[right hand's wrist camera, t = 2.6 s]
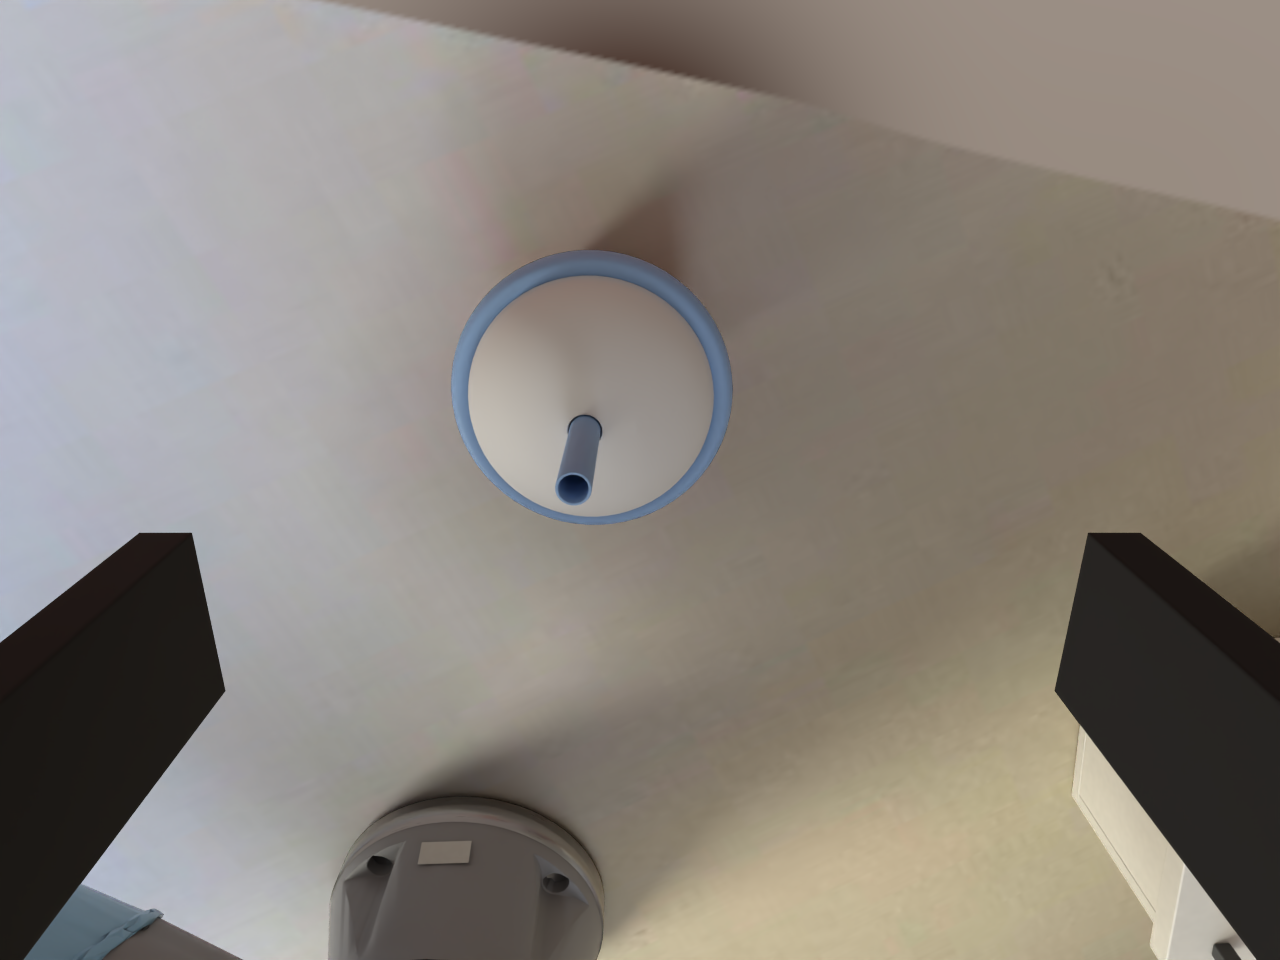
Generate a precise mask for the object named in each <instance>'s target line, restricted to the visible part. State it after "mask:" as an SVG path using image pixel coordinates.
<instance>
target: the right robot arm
mask: <svg viewBox="0 0 1280 960" xmlns="http://www.w3.org/2000/svg"><path fill="white" fill-rule="evenodd" d="M224 692H225V687H224V682H223V677H222V673H221V668H220V663H219V659H218V654H217V649H216V644H215V640H214V635H213V630H212V626H211V621H210V616H209V611H208V607H207V602H206V597H205V593H204V588H203V583H202V578H201V574H200V569H199V564H198V560H197V555H196V550H195V545H194V541H193V536H192V533H139V534H138V535H136V536H135V537H134V538H132V539H131V540H130V541H129V542H127V543H126V544H125V545H124V546H122V547H121V548H120V549H119V550H117V551H116V552H115V553H113V554H112V555H111V556H110V557H108V558H107V559H106V560H105V561H103V562H102V563H101V564H99V565H98V566H97V567H96V568H94V569H93V570H92V571H91V572H89V573H88V574H87V575H86V576H84V577H83V578H82V579H80V580H79V581H78V582H77V583H75V584H74V585H73V586H72V587H70V588H69V589H68V590H67V591H65V592H64V593H63V594H61V595H60V596H59V597H58V598H56V599H55V600H54V601H53V602H51V603H50V604H49V605H48V606H46V607H45V608H44V609H42V610H41V611H40V612H39V613H37V614H36V615H35V616H34V617H32V618H31V619H30V620H28V621H27V622H26V623H25V624H23V625H22V626H21V627H20V628H18V629H17V630H16V631H15V632H13V633H12V634H11V635H9V636H8V637H7V638H6V639H4V640H3V641H2V642H1V643H0V960H242V959H240V958H238V957H236V956H234V955H232V954H230V953H228V952H226V951H224V950H222V949H220V948H218V947H216V946H214V945H212V944H210V943H208V942H206V941H204V940H202V939H200V938H198V937H196V936H194V935H192V934H190V933H188V932H186V931H184V930H182V929H180V928H178V927H176V926H174V925H172V924H170V923H168V922H166V921H164V920H162V919H161V918H162V917H163V915H164V914H163V913H161V912H160V911H158V910H156V909H150V910H147V911H143V910H141V909H139V908H136V907H134V906H131V905H129V904H127V903H124V902H122V901H120V900H117V899H115V898H113V897H110V896H108V895H106V894H103V893H101V892H99V891H96V890H94V889H92V888H89V887H87V886H85V885H82V884H81V883H82V881H83V880H84V879H85V877H86V876H87V875H88V873H89V872H90V871H91V869H92V868H93V867H94V865H95V864H96V863H97V861H98V860H99V859H100V857H101V856H102V855H103V853H104V852H105V851H106V849H107V848H108V847H109V845H110V844H111V843H112V841H113V840H114V839H115V837H116V836H117V835H118V833H119V832H120V831H121V829H122V828H123V827H124V825H125V824H126V823H127V821H128V820H129V819H130V817H131V816H132V815H133V813H134V812H135V811H136V809H137V808H138V807H139V805H140V804H141V803H142V801H143V800H144V799H145V797H146V796H147V795H148V793H149V792H150V791H151V789H152V788H153V787H154V785H155V784H156V783H157V781H158V780H159V779H160V777H161V776H162V775H163V773H164V772H165V771H166V769H167V768H168V767H169V765H170V764H171V763H172V761H173V760H174V759H175V757H176V756H177V755H178V753H179V752H180V751H181V749H182V748H183V747H184V745H185V744H186V743H187V741H188V740H189V739H190V737H191V736H192V735H193V733H194V732H195V731H196V729H197V728H198V727H199V725H200V724H201V723H202V721H203V720H204V719H205V717H206V716H207V715H208V713H209V712H210V711H211V709H212V708H213V707H214V705H215V704H216V703H217V701H218V700H219V699H220V697H221V696H222V695H223V693H224ZM1055 692H1056V693H1057V695H1058V696H1059V697H1060V699H1061V700H1062V701H1063V703H1064V704H1065V705H1066V707H1067V708H1068V709H1069V711H1070V712H1071V713H1072V715H1073V716H1074V717H1075V719H1076V720H1077V721H1078V723H1079V724H1080V725H1081V727H1082V728H1083V729H1084V731H1085V732H1086V733H1087V735H1088V736H1089V737H1090V739H1091V740H1092V741H1093V743H1094V744H1095V745H1096V747H1097V748H1098V749H1099V751H1100V752H1101V753H1102V755H1103V756H1104V757H1105V759H1106V760H1107V761H1108V763H1109V764H1110V765H1111V767H1112V768H1113V769H1114V771H1115V772H1116V773H1117V775H1118V776H1119V777H1120V779H1121V780H1122V781H1123V783H1124V784H1125V785H1126V787H1127V788H1128V789H1129V791H1130V792H1131V793H1132V795H1133V796H1134V797H1135V799H1136V800H1137V801H1138V803H1139V804H1140V805H1141V807H1142V808H1143V809H1144V811H1145V812H1146V813H1147V815H1148V816H1149V817H1150V819H1151V820H1152V821H1153V823H1154V824H1155V825H1156V827H1157V828H1158V829H1159V831H1160V832H1161V833H1162V835H1163V836H1164V837H1165V839H1166V840H1167V841H1168V843H1169V844H1170V845H1171V847H1172V848H1173V849H1174V851H1175V852H1176V853H1177V855H1178V856H1179V857H1180V859H1181V860H1182V861H1183V863H1184V864H1185V865H1186V867H1187V868H1188V869H1189V871H1190V872H1191V873H1192V875H1193V876H1194V877H1195V879H1196V880H1197V881H1198V883H1199V884H1200V885H1201V887H1202V888H1203V889H1204V891H1205V892H1206V893H1207V895H1208V896H1209V897H1210V899H1211V900H1212V901H1213V903H1214V904H1215V905H1216V907H1217V908H1218V909H1219V911H1220V912H1221V913H1222V915H1223V916H1224V917H1225V919H1226V920H1227V921H1228V923H1229V924H1230V925H1231V927H1232V928H1233V929H1234V931H1235V932H1236V933H1237V935H1238V936H1239V937H1240V939H1241V940H1242V941H1243V943H1244V944H1245V945H1246V947H1247V948H1248V949H1249V951H1250V952H1251V953H1252V955H1253V956H1254V957H1255V959H1256V960H1280V643H1279V642H1278V641H1277V640H1276V639H1274V638H1273V637H1272V636H1271V635H1269V634H1268V633H1267V632H1265V631H1264V630H1263V629H1262V628H1260V627H1259V626H1258V625H1257V624H1255V623H1254V622H1253V621H1252V620H1250V619H1249V618H1248V617H1246V616H1245V615H1244V614H1243V613H1241V612H1240V611H1239V610H1238V609H1236V608H1235V607H1234V606H1232V605H1231V604H1230V603H1229V602H1227V601H1226V600H1225V599H1224V598H1222V597H1221V596H1220V595H1219V594H1217V593H1216V592H1215V591H1213V590H1212V589H1211V588H1210V587H1208V586H1207V585H1206V584H1205V583H1203V582H1202V581H1201V580H1200V579H1198V578H1197V577H1196V576H1194V575H1193V574H1192V573H1191V572H1189V571H1188V570H1187V569H1186V568H1184V567H1183V566H1182V565H1181V564H1179V563H1178V562H1177V561H1175V560H1174V559H1173V558H1172V557H1170V556H1169V555H1168V554H1167V553H1165V552H1164V551H1163V550H1161V549H1160V548H1159V547H1158V546H1156V545H1155V544H1154V543H1153V542H1151V541H1150V540H1149V539H1148V538H1146V537H1145V536H1144V535H1142V534H1141V533H1088V536H1087V541H1086V545H1085V550H1084V555H1083V560H1082V564H1081V569H1080V574H1079V578H1078V583H1077V588H1076V593H1075V597H1074V602H1073V607H1072V611H1071V616H1070V621H1069V626H1068V630H1067V635H1066V640H1065V644H1064V649H1063V654H1062V659H1061V663H1060V668H1059V673H1058V677H1057V682H1056V687H1055ZM603 923H604V891H603V886H602V882H601V879H600V876H599V873H598V871H597V869H596V867H595V865H594V863H593V862H592V860H591V858H590V857H589V855H588V854H587V853H586V851H585V850H584V849H583V847H582V846H581V845H580V844H579V843H578V842H577V841H576V840H575V839H574V838H573V837H572V836H571V835H570V834H568V833H567V832H566V831H565V830H564V829H562V828H561V827H559V826H558V825H557V824H555V823H554V822H552V821H550V820H548V819H547V818H545V817H543V816H541V815H539V814H537V813H535V812H533V811H531V810H528V809H525V808H523V807H520V806H517V805H514V804H511V803H507V802H503V801H498V800H494V799H487V798H480V797H445V798H436V799H431V800H425V801H421V802H418V803H414V804H411V805H408V806H405V807H402V808H400V809H398V810H396V811H394V812H391V813H389V814H388V815H386V816H384V817H383V818H381V819H379V820H378V821H377V822H375V823H374V824H373V825H371V826H370V827H369V828H368V829H367V830H366V831H365V832H364V833H362V835H361V836H360V837H359V838H358V839H357V840H356V842H355V843H354V845H353V846H352V848H351V849H350V851H349V853H348V855H347V857H346V859H345V861H344V863H343V866H342V868H341V871H340V873H339V876H338V878H337V880H336V883H335V885H334V888H333V891H332V894H331V899H330V906H329V951H328V960H596V959H597V957H598V954H599V951H600V948H601V944H602V938H603Z"/></svg>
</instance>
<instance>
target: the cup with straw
mask: <svg viewBox="0 0 1280 960" xmlns="http://www.w3.org/2000/svg"><path fill="white" fill-rule="evenodd" d="M451 392H452V403H453V409H454V414H455V418H456V422H457V425H458V429H459V431H460V434H461V436H462V439H463V441H464V443H465V445H466V447H467V449H468V451H469V453H470V455H471V456H472V458H473V459H474V461H475V463H476V464H477V465H478V467H479V468H480V469H481V470H482V472H483V473H484V474H485V475H486V476H487V478H488V479H489V480H490V481H491V482H492V483H493V484H494V485H495V486H496V487H498V488H499V489H500V490H501V491H502V492H503V493H504V494H506V495H507V496H509V497H510V498H511V499H513V500H514V501H516V502H517V503H519V504H521V505H522V506H524V507H526V508H528V509H530V510H532V511H534V512H536V513H538V514H541V515H544V516H546V517H549V518H552V519H556V520H560V521H564V522H569V523H575V524H586V525H603V524H614V523H619V522H625V521H629V520H633V519H636V518H639V517H642V516H645V515H647V514H650V513H652V512H654V511H656V510H658V509H661V508H662V507H664V506H666V505H667V504H669V503H671V502H672V501H674V500H675V499H677V498H678V497H679V496H681V495H682V494H683V493H684V492H686V491H687V490H688V489H689V488H690V487H691V486H692V485H693V484H694V483H695V482H696V481H697V480H698V479H699V478H700V477H701V475H702V474H703V473H704V471H705V470H706V469H707V468H708V466H709V465H710V463H711V462H712V460H713V458H714V457H715V455H716V453H717V451H718V449H719V447H720V445H721V443H722V441H723V438H724V435H725V432H726V430H727V426H728V422H729V418H730V413H731V406H732V392H733V386H732V373H731V367H730V361H729V357H728V353H727V350H726V346H725V344H724V341H723V339H722V336H721V334H720V332H719V330H718V328H717V326H716V324H715V322H714V320H713V319H712V317H711V316H710V314H709V312H708V311H707V310H706V308H705V307H704V306H703V304H702V303H701V302H700V301H699V299H698V298H697V297H696V296H695V295H694V294H693V293H692V292H691V291H690V290H689V289H688V288H687V287H686V286H684V285H683V284H682V283H681V282H680V281H678V280H677V279H676V278H674V277H673V276H671V275H670V274H669V273H667V272H666V271H664V270H662V269H660V268H658V267H657V266H655V265H653V264H651V263H648V262H646V261H644V260H641V259H639V258H635V257H632V256H629V255H626V254H621V253H616V252H611V251H602V250H578V251H568V252H563V253H558V254H554V255H550V256H547V257H544V258H541V259H538V260H536V261H533V262H531V263H529V264H527V265H525V266H523V267H521V268H519V269H518V270H516V271H514V272H513V273H511V274H510V275H508V276H507V277H505V278H504V279H503V280H502V281H500V282H499V283H498V284H497V285H496V286H495V287H493V288H492V289H491V290H490V292H489V293H488V294H487V295H486V296H485V297H484V298H483V299H482V300H481V302H480V303H479V304H478V306H477V307H476V308H475V310H474V311H473V313H472V315H471V316H470V318H469V320H468V321H467V323H466V325H465V327H464V329H463V332H462V334H461V336H460V339H459V342H458V345H457V348H456V352H455V356H454V361H453V368H452V378H451Z"/></svg>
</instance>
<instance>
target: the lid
mask: <svg viewBox="0 0 1280 960" xmlns="http://www.w3.org/2000/svg"><path fill="white" fill-rule="evenodd" d="M1150 947H1151V949H1152V950H1153V952H1154V953H1155V955H1156V957H1157V958H1158V960H1256V959H1255V957H1254V956H1253V955H1252V953H1251V952H1250V951H1249V949H1248V948H1247V947H1246V945H1245V944H1244V943H1243V941H1242V940H1241V939H1240V937H1239V936H1238V935H1237V933H1236V932H1235V931H1234V929H1233V928H1232V927H1231V925H1230V924H1229V923H1228V921H1227V920H1226V919H1225V917H1224V916H1223V915H1222V913H1221V912H1220V911H1219V909H1218V908H1217V907H1216V905H1215V904H1214V903H1213V901H1212V900H1211V899H1210V897H1209V896H1208V895H1207V893H1206V892H1205V891H1204V889H1203V888H1202V887H1201V885H1200V884H1199V883H1198V881H1197V880H1196V879H1195V877H1194V876H1193V875H1192V873H1191V872H1190V871H1189V869H1188V868H1187V867H1186V865H1185V864H1184V863H1183V861H1182V860H1181V859H1180V857H1179V856H1178V855H1177V853H1176V852H1175V851H1174V849H1173V848H1172V847H1171V845H1170V844H1169V843H1167V849H1166V855H1165V860H1164V866H1163V872H1162V877H1161V883H1160V889H1159V894H1158V900H1157V906H1156V911H1155V917H1154V923H1153V928H1152V934H1151V940H1150Z"/></svg>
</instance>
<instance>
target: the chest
mask: <svg viewBox="0 0 1280 960" xmlns="http://www.w3.org/2000/svg"><path fill="white" fill-rule="evenodd" d="M1274 639H1276V640H1277V641H1278V642H1279V643H1280V638H1274ZM1072 797H1073V798H1074V800H1075V801H1076V803H1077V804H1078V806H1079V808H1080V809H1081V811H1082V812H1083V814H1084V815H1085V817H1086V818H1087V820H1088V822H1089V823H1090V825H1091V826H1092V828H1093V829H1094V831H1095V833H1096V834H1097V836H1098V837H1099V839H1100V840H1101V842H1102V843H1103V845H1104V847H1105V848H1106V850H1107V851H1108V853H1109V854H1110V856H1111V857H1112V859H1113V861H1114V862H1115V864H1116V865H1117V867H1118V868H1119V870H1120V871H1121V873H1122V875H1123V876H1124V878H1125V879H1126V881H1127V882H1128V884H1129V886H1130V887H1131V889H1132V890H1133V892H1134V893H1135V895H1136V896H1137V898H1138V900H1139V901H1140V903H1141V904H1142V906H1143V907H1144V909H1145V910H1146V912H1147V914H1148V915H1149V917H1150V918H1151V920H1152V921H1153V923H1154V917H1155V911H1156V906H1157V900H1158V894H1159V889H1160V883H1161V877H1162V872H1163V866H1164V860H1165V855H1166V849H1167V843H1168V841H1167V840H1166V839H1165V837H1164V836H1163V835H1162V833H1161V832H1160V831H1159V829H1158V828H1157V827H1156V825H1155V824H1154V823H1153V821H1152V820H1151V819H1150V817H1149V816H1148V815H1147V813H1146V812H1145V811H1144V809H1143V808H1142V807H1141V805H1140V804H1139V803H1138V801H1137V800H1136V799H1135V797H1134V796H1133V795H1132V793H1131V792H1130V791H1129V789H1128V788H1127V787H1126V785H1125V784H1124V783H1123V781H1122V780H1121V779H1120V777H1119V776H1118V775H1117V773H1116V772H1115V771H1114V769H1113V768H1112V767H1111V765H1110V764H1109V763H1108V761H1107V760H1106V759H1105V757H1104V756H1103V755H1102V753H1101V752H1100V751H1099V749H1098V748H1097V747H1096V745H1095V744H1094V743H1093V741H1092V740H1091V739H1090V737H1089V736H1088V735H1087V733H1086V732H1085V731H1084V729H1083V728H1082V727H1081V725H1080V728H1079V736H1078V745H1077V753H1076V762H1075V770H1074V779H1073V787H1072Z"/></svg>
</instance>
